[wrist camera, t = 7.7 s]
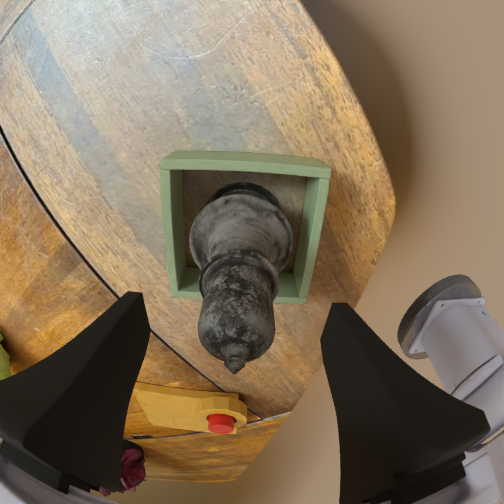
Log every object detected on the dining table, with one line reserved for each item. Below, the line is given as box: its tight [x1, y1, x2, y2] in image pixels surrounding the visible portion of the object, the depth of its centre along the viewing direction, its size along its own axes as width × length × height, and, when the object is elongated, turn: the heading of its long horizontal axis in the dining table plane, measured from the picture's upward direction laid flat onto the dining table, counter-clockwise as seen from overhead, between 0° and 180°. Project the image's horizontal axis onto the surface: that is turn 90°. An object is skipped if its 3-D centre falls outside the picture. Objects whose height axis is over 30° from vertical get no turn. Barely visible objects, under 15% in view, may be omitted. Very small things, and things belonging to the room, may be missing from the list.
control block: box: [133, 382, 247, 434], centre depth 30 cm, size 14×12×3 cm
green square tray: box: [160, 151, 332, 304], centre depth 17 cm, size 9×9×3 cm
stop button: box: [208, 414, 234, 434], centre depth 27 cm, size 3×3×2 cm
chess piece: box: [189, 182, 294, 374], centre depth 13 cm, size 6×6×12 cm
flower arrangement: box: [100, 440, 146, 496], centre depth 36 cm, size 31×20×15 cm, turn 87°
